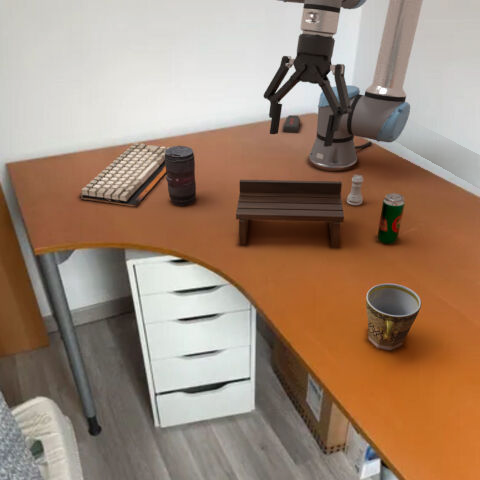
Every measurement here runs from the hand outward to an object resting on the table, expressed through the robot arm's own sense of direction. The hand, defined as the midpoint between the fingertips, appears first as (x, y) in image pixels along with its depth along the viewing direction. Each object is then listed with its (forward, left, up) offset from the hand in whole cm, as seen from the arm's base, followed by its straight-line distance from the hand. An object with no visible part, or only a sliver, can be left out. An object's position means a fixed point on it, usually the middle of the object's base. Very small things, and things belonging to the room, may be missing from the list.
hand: (300, 139), depth 117 cm
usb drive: (-57, -54, -26) cm, 83 cm away
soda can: (-16, +17, -26) cm, 35 cm away
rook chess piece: (-26, -1, -26) cm, 37 cm away
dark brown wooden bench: (-1, -3, -26) cm, 26 cm away
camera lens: (+8, -36, -26) cm, 46 cm away
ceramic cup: (+16, +39, -26) cm, 49 cm away
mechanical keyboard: (+9, -60, -26) cm, 67 cm away
